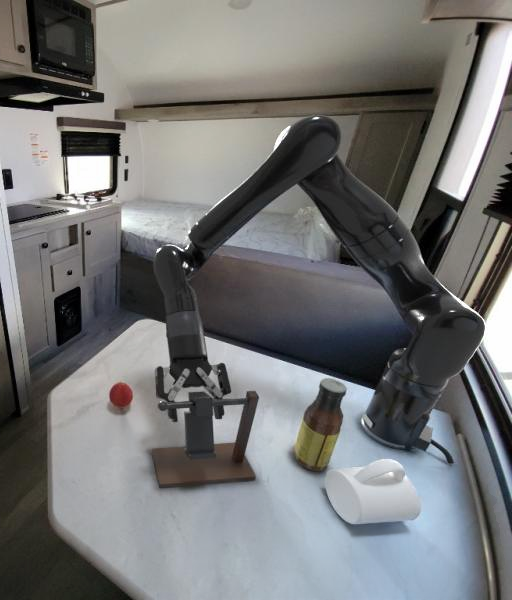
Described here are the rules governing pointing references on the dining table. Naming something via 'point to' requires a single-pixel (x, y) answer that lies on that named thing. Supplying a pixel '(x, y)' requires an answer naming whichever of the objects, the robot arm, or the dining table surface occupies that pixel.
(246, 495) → the dining table surface
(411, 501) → the mug
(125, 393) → the red rounded oval body
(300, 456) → the sauce bottle
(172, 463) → the rack
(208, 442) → the grey hanging weight
